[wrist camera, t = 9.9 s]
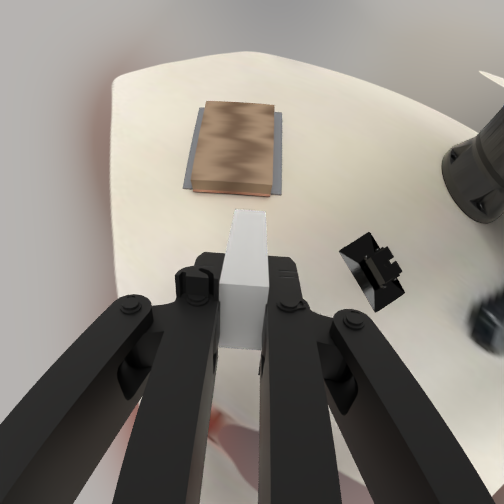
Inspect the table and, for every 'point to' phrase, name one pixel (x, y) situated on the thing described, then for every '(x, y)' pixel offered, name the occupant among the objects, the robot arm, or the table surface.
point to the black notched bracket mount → (373, 271)
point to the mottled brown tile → (235, 149)
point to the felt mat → (276, 153)
